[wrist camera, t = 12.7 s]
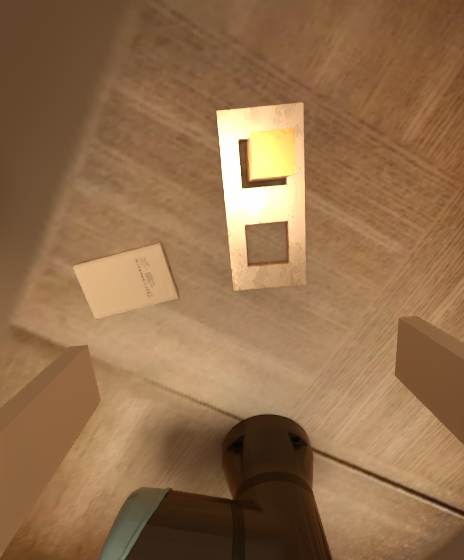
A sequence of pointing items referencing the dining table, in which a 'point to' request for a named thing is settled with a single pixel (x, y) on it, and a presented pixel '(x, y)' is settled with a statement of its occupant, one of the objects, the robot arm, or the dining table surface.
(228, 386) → the dining table surface
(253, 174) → the brass peg
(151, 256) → the external hard drive
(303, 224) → the rail plate
